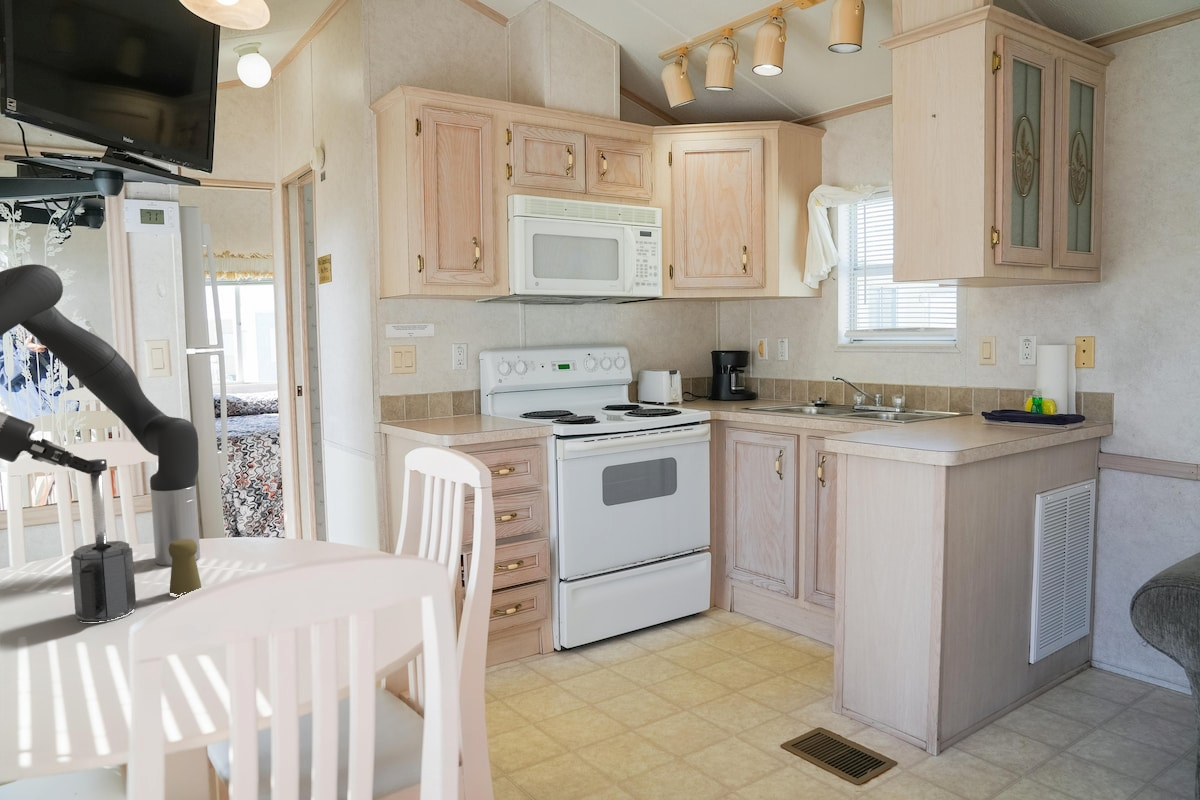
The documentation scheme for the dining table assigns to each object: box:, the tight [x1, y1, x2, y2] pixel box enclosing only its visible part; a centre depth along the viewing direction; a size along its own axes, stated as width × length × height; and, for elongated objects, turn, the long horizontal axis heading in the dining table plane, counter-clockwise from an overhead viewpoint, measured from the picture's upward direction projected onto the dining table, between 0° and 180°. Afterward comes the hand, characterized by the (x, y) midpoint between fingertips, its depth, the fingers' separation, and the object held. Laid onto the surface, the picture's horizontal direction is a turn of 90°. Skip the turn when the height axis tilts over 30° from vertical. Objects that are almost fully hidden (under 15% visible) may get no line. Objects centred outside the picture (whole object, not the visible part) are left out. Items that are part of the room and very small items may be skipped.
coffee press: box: [70, 540, 137, 622], centre depth 153 cm, size 12×9×13 cm
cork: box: [169, 539, 202, 599], centre depth 167 cm, size 6×6×11 cm
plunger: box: [87, 458, 108, 550], centre depth 153 cm, size 6×6×21 cm
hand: (92, 469), depth 154 cm, fingers open, 8 cm apart
